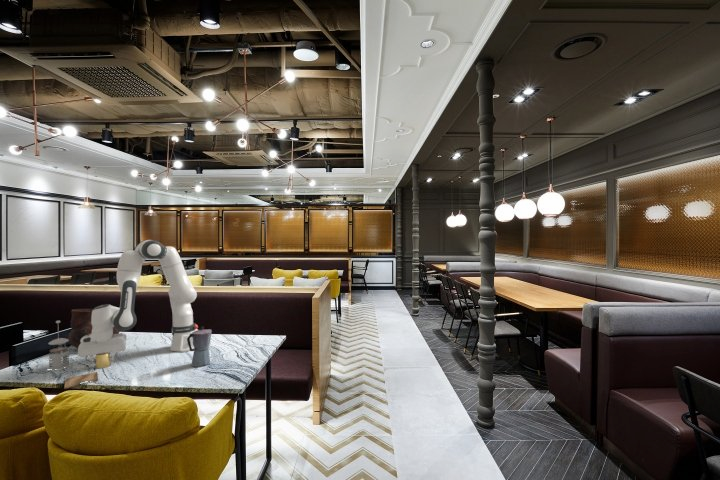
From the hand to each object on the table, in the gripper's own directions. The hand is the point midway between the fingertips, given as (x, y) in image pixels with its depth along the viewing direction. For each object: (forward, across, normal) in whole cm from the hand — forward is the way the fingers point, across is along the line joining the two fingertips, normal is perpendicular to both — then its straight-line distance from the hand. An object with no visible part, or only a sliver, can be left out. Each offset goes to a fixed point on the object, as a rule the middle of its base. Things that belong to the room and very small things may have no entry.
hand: (103, 361), depth 173 cm
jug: (+3, +10, -42) cm, 43 cm away
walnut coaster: (+3, +6, +16) cm, 17 cm away
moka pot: (+3, -45, +25) cm, 52 cm away
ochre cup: (+3, 0, 0) cm, 3 cm away
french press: (+3, +20, -12) cm, 23 cm away
